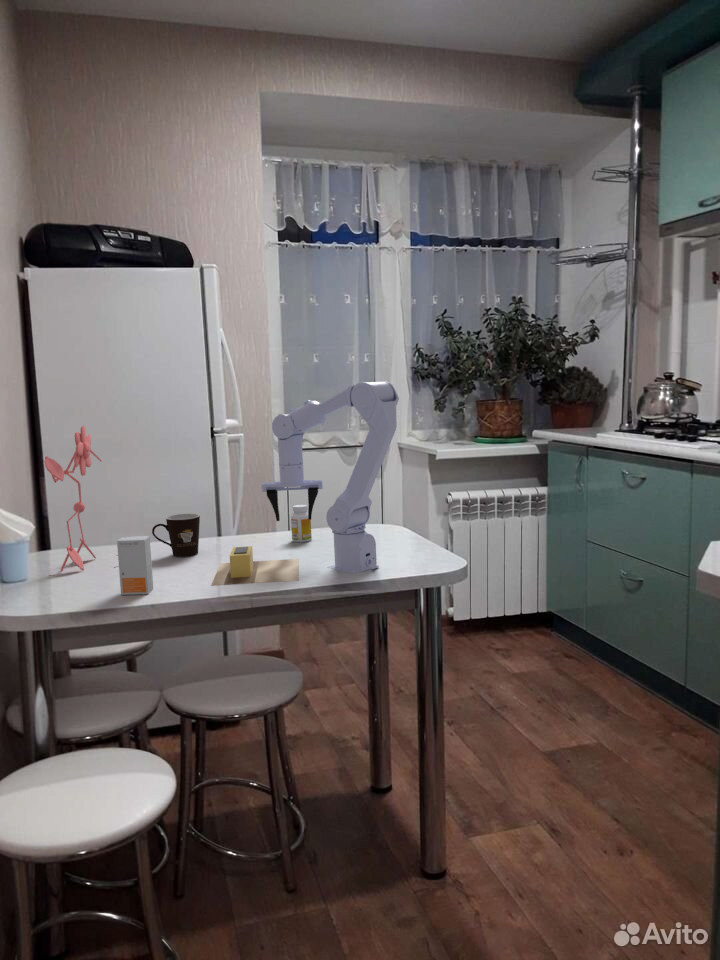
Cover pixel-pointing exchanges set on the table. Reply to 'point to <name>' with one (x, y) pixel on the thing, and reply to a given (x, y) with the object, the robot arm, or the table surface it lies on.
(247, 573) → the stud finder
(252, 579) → the subfloor board
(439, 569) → the table surface
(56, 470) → the figurine
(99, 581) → the table surface
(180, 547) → the coffee mug
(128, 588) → the skincare box
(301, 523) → the supplement bottle
